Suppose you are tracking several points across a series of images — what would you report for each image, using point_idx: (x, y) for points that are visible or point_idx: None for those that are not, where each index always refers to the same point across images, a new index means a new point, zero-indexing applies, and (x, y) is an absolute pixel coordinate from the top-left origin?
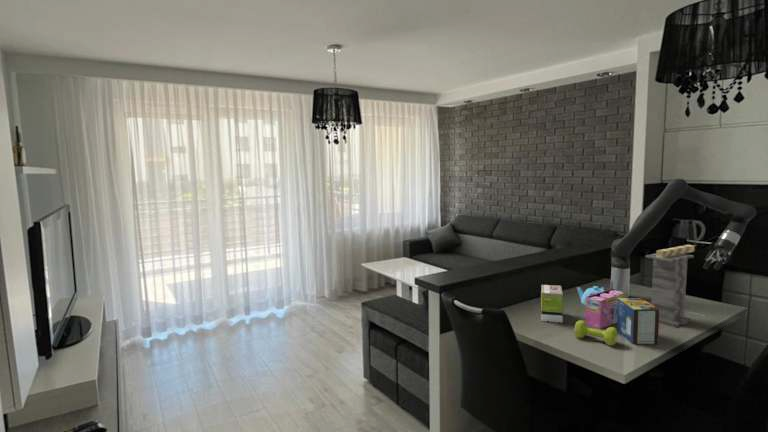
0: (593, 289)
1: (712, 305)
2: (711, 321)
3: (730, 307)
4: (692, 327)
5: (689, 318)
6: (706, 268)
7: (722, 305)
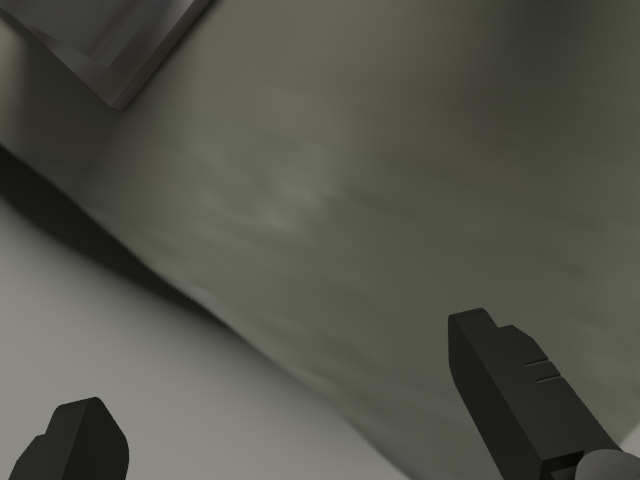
0: None
1: None
2: (162, 232)
3: None
4: (28, 94)
5: (112, 98)
6: (453, 361)
7: None
